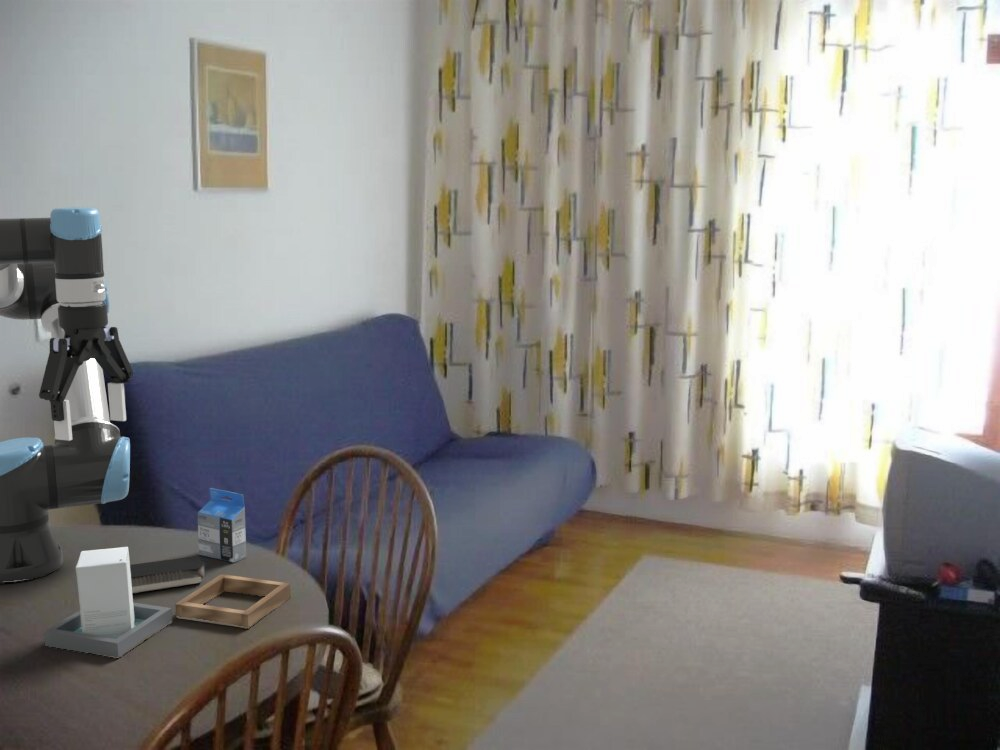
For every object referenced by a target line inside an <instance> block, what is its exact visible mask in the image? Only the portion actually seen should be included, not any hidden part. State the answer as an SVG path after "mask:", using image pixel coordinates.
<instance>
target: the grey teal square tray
mask: <svg viewBox="0 0 1000 750" xmlns="http://www.w3.org/2000/svg"><path fill="white" fill-rule="evenodd" d="M133 606H134V617H135V621H134V628H132V629H130V630H129V631H127V632H126V633H124V634H123V635H121V636H120V637H118V638H116V639H114V638H108V637H101V636H95V635H89V634H83V633H82V624H81V614H80V610H78V611H76V612H74V613H73V614H71V615H70V616H67V617H66V618H63V619H62V620H61V621H59V622H57V623H56V624H54V625H52V626H50V627H47V629H45V630H44V631H43V638H44V647H45V646H49V647H48V648H51V647H56V648H55V649H57V648H62V649H61V650H63V649H67V650H66V651H69V650H74V651H73V652H75V651H80V652H79V653H81V652H88V653H92V654H100V655H106V656H114V657H119V656H121V655H122V654H123V653H124V652H126V651H127V650H128V649H130V648H131V647H133V646H134V645H136V644H137V643H138V642H140V641H141V640H143V639H144V638H145V637H147V636H148V635H150V634H151V633H153V632H155V631H157V630H158V629H160V628H161V627H163V626H164V625H166V624H168V623H169V622H170V621H172V622H173V612H172V607H166V606H160V605H153V604H145V603H138V602H134V601H133ZM136 622H137V623H138V622H139V623H140V622H141V623H140V624H138V625H137V624H136V625H137V626H136V625H135V623H136ZM92 654H91V655H92Z"/></svg>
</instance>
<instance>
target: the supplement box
mask: <svg viewBox="0 0 1000 750" xmlns="http://www.w3.org/2000/svg"><path fill="white" fill-rule="evenodd" d="M79 554H80V555H79V556H78V557H79V558H78V560H77V562H76V565H75V573H76V574H75V575H76V581H77V591H78V600H79V601H78V603H79V604H78V605H79V611H80V614H81V624H82V633H83V634H89V635H95V636H101V637H108V638H114V639H116V638H118V637H120V636H121V635H123V634H124V633H126V632H127V631H129V630H130V629H132V628H134V621H135V617H134V606H133V602H134V598H133V597H134V596H133V593H132V583H131V571H130V565H131V562H130V561H131V560H130V553H129V547H128V546H121V547H114V548H113V547H112V548H102V549H90V550H82V551H81V552H80V553H79Z"/></svg>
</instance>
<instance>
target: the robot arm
mask: <svg viewBox="0 0 1000 750" xmlns="http://www.w3.org/2000/svg"><path fill="white" fill-rule="evenodd" d="M49 215H50V217H25V218H24V217H23V218H0V317H4V318H7V319H12V320H23V321H24V320H25V321H26V320H40V322H41V325H42V327H43V328H44V329H45V330H46V331H48V332H49V333H50V336H51V337H50V339H49V353H48V357H47V360H46V365H45V370H44V373H43V376H42V377H43V378H42V381H41V385H40V390H39V394H38V397H39V398H40V399H42V400H45V401H49V403H50V412H51V419H52V421H53V427H54V444H49V445H48V444H47V445H44V442H42V439H41V438H39V437H36V436H35V437H33V436H31V437H26V436H25V437H20V438H19V437H17V438H12V439H8V440H4V441H0V582H3V581H14V580H23V579H31V580H33V579H32V578H35V579H38V578H37V577H39V578H42V577H45V576H47V575H50V574H51V572H52V573H53V571H54V572H55V571H57V570H59V569H60V568H61V567H62V565H63V563H64V557H63V550H62V547H61V546H60V545H59V544H58V540H57V538H56V535H55V533H54V531H53V528H52V526H51V524H50V518H49V510H56V509H64V508H65V509H66V508H72V507H73V508H74V507H83V506H90V505H98V504H102V505H104V504H106V503H110V502H116V501H117V502H118V501H120V500H124V499H125V498H126V497H127V496H128V494H129V490H130V489H129V488H130V473H131V471H130V468H131V465H130V464H131V442H130V441H131V440H130V437H126V436H121V432H120V428H119V427H118V426H117V425H115V424H113V423H111V421H114V422H115V421H116V422H126V421H127V410H126V397H127V396H126V395H127V394H126V392H127V391H126V383H127V384H128V383H130V382H131V381H132V380H131V378H132V377H133V375H134V371H133V369H132V366H131V363H130V361H129V359H128V357H127V355H126V352H125V350H124V347H123V346H122V343H121V341H120V337H119V329H118V327H116V326H108V324H109V316H108V314H109V312H110V298H109V293H108V290H107V288H108V287H107V281H106V279H105V278H106V277H105V271H104V253H103V238H102V236H103V235H102V232H103V227H102V224H101V216H100V211H99V210H98V209H97V208H95V207H85V206H82V207H81V206H78V207H77V206H73V207H72V206H71V207H68V206H67V207H56V208H54V209H52V210H51V212H50V214H49ZM104 373H105V375H107V377H108V378H109V379H110V381H111V382H108V383H107V392H106V385H105V377H104ZM107 393H108V399H107ZM108 403H109V405H108ZM49 573H50V574H49ZM46 574H47V575H46ZM44 575H45V576H44ZM41 576H42V577H41Z"/></svg>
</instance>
